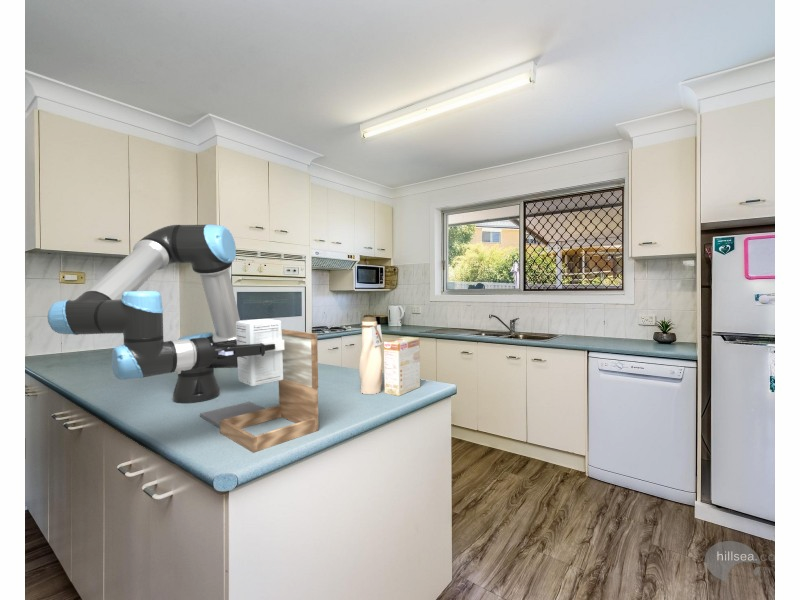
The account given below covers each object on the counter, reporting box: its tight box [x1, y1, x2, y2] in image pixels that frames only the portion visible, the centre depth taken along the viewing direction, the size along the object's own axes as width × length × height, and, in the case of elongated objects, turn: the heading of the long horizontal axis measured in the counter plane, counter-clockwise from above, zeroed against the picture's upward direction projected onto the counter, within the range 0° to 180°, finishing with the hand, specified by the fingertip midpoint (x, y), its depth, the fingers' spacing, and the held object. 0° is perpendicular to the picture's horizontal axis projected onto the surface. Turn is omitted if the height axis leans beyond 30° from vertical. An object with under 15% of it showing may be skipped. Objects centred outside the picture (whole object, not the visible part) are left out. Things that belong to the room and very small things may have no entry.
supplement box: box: [236, 318, 283, 387], centre depth 108 cm, size 10×9×17 cm
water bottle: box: [358, 316, 384, 395], centre depth 146 cm, size 10×9×28 cm
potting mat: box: [199, 401, 266, 429], centre depth 121 cm, size 16×16×1 cm
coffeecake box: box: [383, 336, 421, 397], centre depth 148 cm, size 15×7×20 cm, turn 145°
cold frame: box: [219, 328, 320, 454], centre depth 107 cm, size 19×19×27 cm
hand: (274, 342), depth 112 cm, fingers closed on supplement box, 9 cm apart
